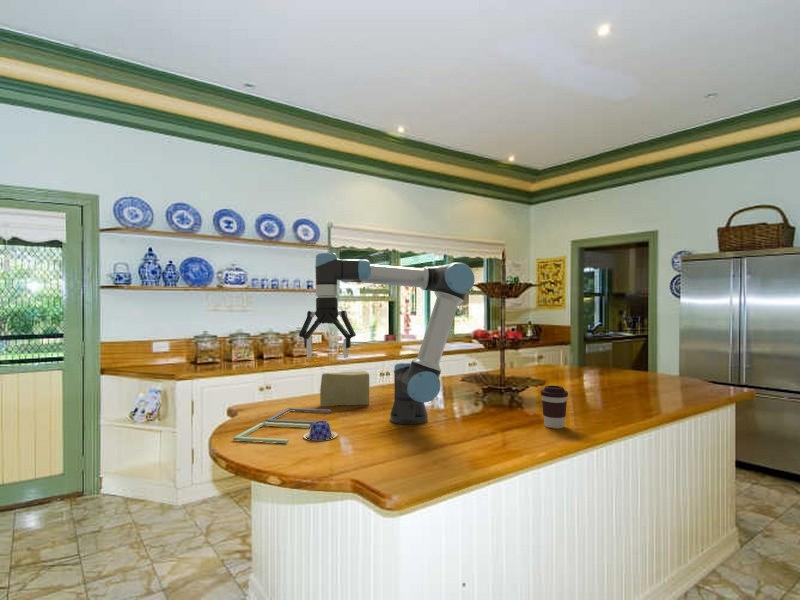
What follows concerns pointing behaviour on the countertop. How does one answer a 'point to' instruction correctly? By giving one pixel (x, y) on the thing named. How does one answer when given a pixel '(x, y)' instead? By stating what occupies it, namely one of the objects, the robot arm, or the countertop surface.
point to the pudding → (320, 431)
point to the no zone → (296, 420)
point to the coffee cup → (554, 406)
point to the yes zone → (242, 438)
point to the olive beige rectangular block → (344, 388)
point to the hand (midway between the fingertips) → (327, 357)
